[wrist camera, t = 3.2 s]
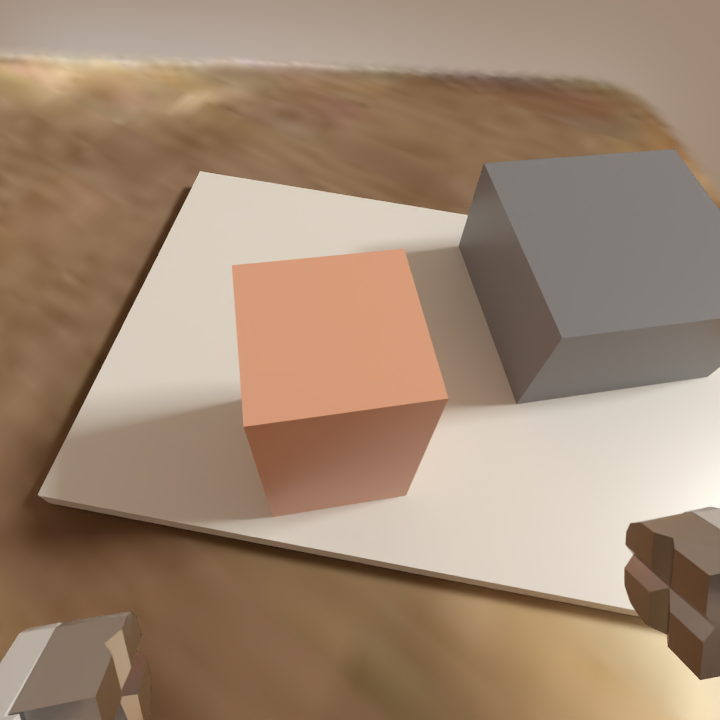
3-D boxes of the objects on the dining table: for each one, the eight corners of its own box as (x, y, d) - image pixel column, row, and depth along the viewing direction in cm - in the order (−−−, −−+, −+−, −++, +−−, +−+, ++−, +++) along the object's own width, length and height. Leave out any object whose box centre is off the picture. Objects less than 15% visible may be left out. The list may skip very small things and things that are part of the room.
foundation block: (516, 404, 22) (562, 338, 18) (458, 246, 27) (484, 163, 22) (707, 376, 23) (792, 309, 19) (621, 230, 28) (674, 149, 24)
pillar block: (272, 517, 19) (243, 426, 12) (261, 396, 22) (231, 265, 15) (406, 495, 20) (448, 398, 13) (380, 380, 22) (404, 248, 16)
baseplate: (49, 503, 20) (37, 495, 19) (203, 186, 29) (199, 171, 28) (803, 648, 19) (826, 646, 18) (713, 270, 28) (725, 257, 27)
